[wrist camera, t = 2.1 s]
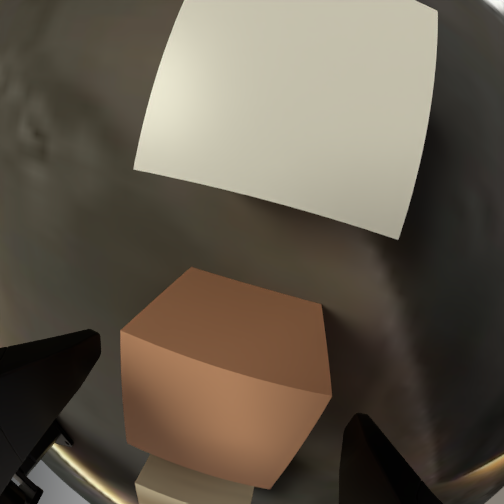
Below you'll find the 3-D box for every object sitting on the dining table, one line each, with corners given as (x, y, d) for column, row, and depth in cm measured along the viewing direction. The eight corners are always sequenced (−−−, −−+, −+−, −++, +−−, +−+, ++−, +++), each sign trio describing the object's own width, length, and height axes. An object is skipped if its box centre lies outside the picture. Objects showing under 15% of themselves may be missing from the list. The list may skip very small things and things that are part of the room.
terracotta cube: (282, 397, 12) (269, 489, 7) (176, 365, 12) (127, 443, 8) (321, 303, 10) (331, 396, 6) (192, 266, 11) (120, 330, 6)
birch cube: (242, 478, 14) (226, 540, 10) (168, 455, 15) (140, 512, 10) (263, 440, 13) (247, 518, 8) (172, 413, 13) (134, 482, 9)
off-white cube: (350, 208, 9) (398, 239, 5) (209, 170, 10) (133, 169, 5) (381, 76, 8) (437, 11, 3) (244, 43, 8) (202, -39, 4)
